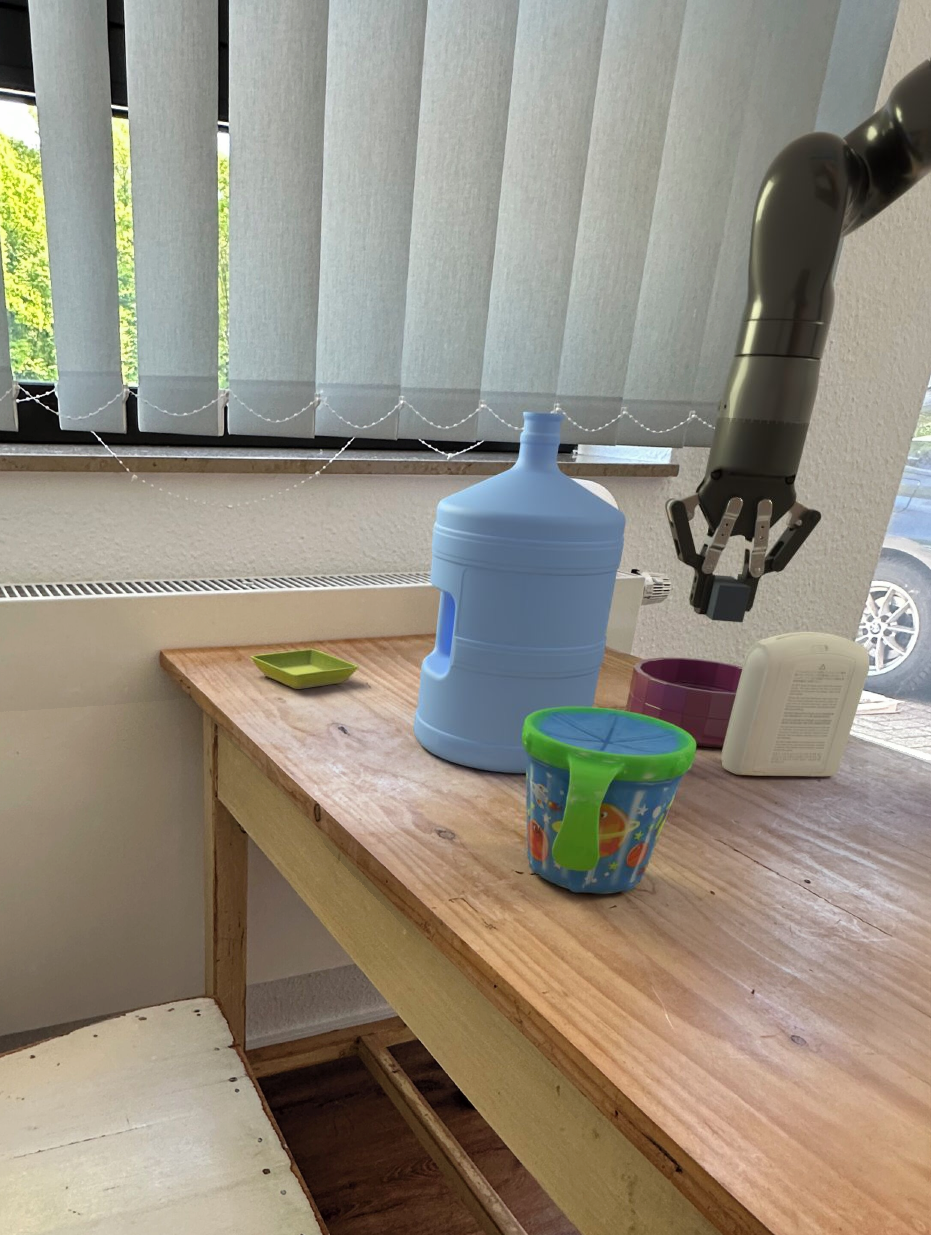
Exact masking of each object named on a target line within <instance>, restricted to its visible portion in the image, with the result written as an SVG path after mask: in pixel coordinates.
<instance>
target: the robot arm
mask: <svg viewBox="0 0 931 1235" xmlns="http://www.w3.org/2000/svg"><path fill="white" fill-rule="evenodd" d="M930 173H931V56H929V58H927V59H925V60H923V61H922V62H921V63H919V64H918V65H917V66H915V67H914V68H913V69H912V70H910V71H909V72H908V73H907V74H905V75H904V76H903V77H902V78H901V79H899V81H898V82H896V84H895V85H894V86H893V87H892V89H891V92H890V93H889V95H888V98H887V100H886V101H885V103H884V104H883V106H881V107H880V108H879V109H878V110H876V112H874V113H873V114H871V115H870V116H869V117H868V118H866V119H865V120H864V121H863V122H861V123H860V124H859V125H858V126H856V127H855V128H853V129H852V130H851V131H850V132H848V133H847V134H845V135H844V136H843V137H842V136H840V135H838V134H835V133H833V132H828V131H822V130H821V131H811V132H807V133H804V134H802V135H800V136H798V137H796V138H794V139H793V140H791V141H790V142H789V143H787V144H786V145H785V146H783V148H781V150H780V151H779V152H778V153H777V154H776V155H775V156H774V158H773V159H772V160H771V162H770V164H769V165H768V167H767V168H766V171H765V172H764V174H763V177H762V179H761V182H760V186H759V187H758V191H757V194H756V199H755V202H754V208H753V212H752V221H751V228H750V229H751V230H750V239H749V250H748V251H749V252H748V253H749V254H748V265H747V290H746V298H745V302H744V306H743V309H742V313H741V316H740V323H739V326H738V331H737V335H736V339H735V343H734V344H735V345H734V349H733V357H732V359H731V362H730V366H729V369H728V372H727V375H726V377H725V380H724V384H723V387H722V392H721V397H720V399H719V401H718V405H717V415H716V416H717V417H716V419H715V420H716V421H715V426H714V431H713V434H712V440H711V443H710V444H711V445H710V449H709V454H708V459H707V464H706V468H705V474H704V476H703V478H702V480H701V482H700V483H699V484H698V485H697V487H696V489H695V492H693V493H691V494H688V495H686V496H683V497H681V498H678V499H677V498H669V499H668V500H667V501H665V504H664V508H665V513H666V517H667V521H668V524H669V528H670V532H671V533H670V534H671V538H672V541H673V545H674V548H675V553H676V557H677V559H678V561H680V562H681V563H683V564H684V565H685V566H686V565H687V566H689V567H691V568H693V572H694V573H693V574H694V575H693V579H692V584H691V589H690V593H689V598H688V600H689V605H690V606H691V607H693V612H694V613H696V614H697V615H703V616H706V615H705V614H706V613H707V609H708V605H709V600H710V596H711V591H712V587H713V582H714V580H715V575H716V574H714V572H715V571H716V569H717V566H718V563H719V560H720V557H721V555H722V552H723V551H724V550H725V549H726V547H727V544H728V542H729V539H730V537H736V536H741V537H742V541H741V542H742V544H741V545H742V549H743V550H742V564H741V565H742V566H741V569H742V571H741V573H738V574H737V578H736V579H737V580H739V581H740V582H742V583H744V584H746V585H748V586H749V587H751V590H750V594H749V598H748V602H747V606H746V611H745V613H746V612H747V613H748V612H751V610H752V609H753V607H754V602H755V598H756V594H757V590H758V587H759V582H760V579H761V578H762V577H763V576H764V575H767V574H771V573H774V572H775V573H780V572H782V571H784V569H785V568H786V567H787V565H788V564H789V563H790V562H791V560H792V559H793V557H794V556H795V555H796V553H798V551H799V549H800V548H801V547H802V545H803V544H804V543H805V542H806V540H807V539H808V537H809V536H810V535H811V533H812V532H813V531H814V530H815V528H816V527H817V525H818V524H819V523H820V521H821V519H822V513H821V512H820V511H819V510H817V509H815V508H811V507H808V506H806V505H805V504H804V503H802V502H800V501H798V500H797V491H796V486H795V481H796V478H797V476H798V472H799V468H800V463H801V459H802V456H803V451H804V448H805V443H806V439H807V436H808V435H807V434H808V431H809V426H810V423H811V419H812V415H813V411H814V407H815V404H816V398H817V394H818V390H819V384H820V383H819V382H820V372H821V365H822V360H823V357H824V353H825V350H826V349H825V348H826V346H827V345H826V344H827V340H828V336H829V332H830V328H831V324H832V319H833V314H834V310H835V302H836V292H835V286H834V281H833V280H834V278H833V276H834V268H835V264H836V260H837V256H838V251H839V246H840V243H841V240H842V239H844V238H846V237H847V236H849V235H851V234H853V233H854V232H855V231H857V230H858V229H860V228H861V227H862V226H865V225H866V224H867V223H868V222H870V221H871V220H873V219H874V218H875V217H877V216H878V215H879V214H881V212H883V211H885V209H887V208H889V206H891V205H892V204H893V203H894V202H896V201H897V200H899V199H900V198H901V197H903V196H904V195H905V194H906V193H907V192H909V191H910V190H911V189H912V188H914V186H915V185H917V184H918V183H919V182H920V181H922V179H924V178H926V176H928V175H930ZM697 506H698V507H699V508H700V511H701V513H702V515H703V517H704V520H705V521H706V523H707V526H706V529H705V532H704V534H703V536H702V540H701V547H700V549H699V552H698V553H697V549H696V545H695V540H694V538H693V534H692V528H691V525H690V521H692V520H693V519H694V518H695V515H696V514H695V513H696V512H695V510H696V508H697ZM787 513H788V515H787V517H786V519H785V524H786V526H787V527H786V528H785V530H783V533H782V534H781V535H780V536H779V538H778V539H777V540H776V541H775V543H774V545H773V546H772V547H771V549H770V550H769V551H768V548H769V537H770V530H771V529H772V528H773V527H774V526H775V525H776V524H777V523H778V522H779V521H780V520H781V519H782V518H783V517H784V516H785V515H786V514H787ZM767 551H768V553H767V554H766V552H767Z"/></svg>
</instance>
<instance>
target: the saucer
mask: <svg viewBox="0 0 931 1235" xmlns="http://www.w3.org/2000/svg"><path fill="white" fill-rule="evenodd" d="M250 659H251V660H252V662H253V663H254V665H255V666H256V667H257V669H259V671H260V672H262V674H263V675H264V676H265V677H268V678H270V679H273V680H275V681H277V682H279V683H281V684H283V685H286V686H288V687H290V688H292V689H295V690H302V689H310V688H316V687H324V686H331V685H337V684H341V683H343V682H345V681H346V680H347V679H349V678H350V677H351V676H353V674H354V673H355V672H356V671H358V668H359V666H358V665H357V664H354V663H352V662H350V661H347V660H344V659H341V658H339V657H336V656H334V655H331V654H328V653H326V652H323V651H320V650H318V649H315V648H308V649H306V648H305V649H298V650H290V651H289V650H288V651H281V652H280V651H279V652H272V653H263V654H256V655H255V654H254V655H250Z"/></svg>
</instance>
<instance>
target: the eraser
mask: <svg viewBox="0 0 931 1235" xmlns="http://www.w3.org/2000/svg"><path fill="white" fill-rule="evenodd" d="M714 575H715V580H714V582H713V587H712V591H711V596H710V600H709V605H708V609H707V613H706V614H705V615H704V616H705V617H707V618H709V620H711V621H719V622H730V623H731V622H733V623H743V622H744V618H745V614H746V606H747V602H748V598H749V594H750V590H751V587H749V586H748V585H746V584H744V583H742V582H740V581H739V580H737V578H735V577H733V576H732V575H719V574H718V575H717V574H714Z"/></svg>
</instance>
